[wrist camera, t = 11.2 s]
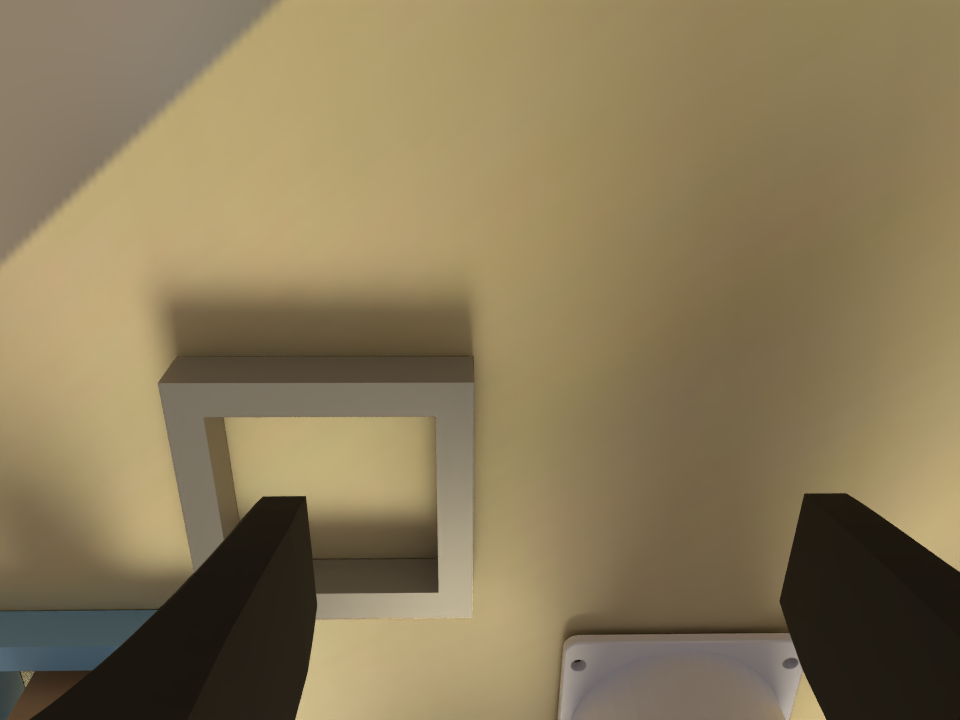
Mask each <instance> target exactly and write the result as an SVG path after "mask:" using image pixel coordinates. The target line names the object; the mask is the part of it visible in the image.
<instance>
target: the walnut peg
mask: <svg viewBox="0 0 960 720" xmlns="http://www.w3.org/2000/svg"><path fill="white" fill-rule="evenodd" d="M91 671H92V670H84V671H35V673H34V674H33V676H32V678H31V679H30V681H29V683H28V684H27V686H26V688H25V690H24V691H23V693H22V695H21V696H20V698H19V700H18V701H17V703H16V705H15V706H14V708H13V710H12V712H11V713H10V715H9V717H8V718H7V720H29V719H31V718H32V717H33V716H35V715H36V714H38V713H39V712H40V711H42V710H43V709H45V708H46V707H47V706H49V705H50V704H51V703H53V702H54V701H55V700H56V699H58V698H59V697H60V696H62V695H63V694H64V693H65V692H67V691H68V690H69V689H70V688H72V687H73V686H74V685H75V684H76V683H78V682H79V681H80V680H81V679H83V678H84V677H85V676H86V675H88V674H89V673H90V672H91Z"/></svg>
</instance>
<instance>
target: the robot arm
mask: <svg viewBox="0 0 960 720" xmlns="http://www.w3.org/2000/svg"><path fill="white" fill-rule="evenodd" d="M780 605H781V608H782V611H783V614H784V617H785V620H786V624H787V627H788V630H789V633H733V634H630V635H576V636H572V637H570V638H568V639H567V640H566V641H565V642H564V645H563V653H562V666H561V679H560V693H559V706H558V719H557V720H790V717H791V713H792V710H793V706H794V702H795V698H796V694H797V690H798V687H799V683H800V679H801V675H802V671H804V674H805V676H806V678H807V680H808V682H809V684H810V686H811V688H812V691H813V693H814V695H815V697H816V699H817V701H818V703H819V705H820V707H821V709H822V711H823V713H824V715H825V717H826V720H960V572H959V571H957V570H956V569H954V568H953V567H952V566H950V565H949V564H947V563H946V562H944V561H943V560H942V559H940V558H939V557H937V556H936V555H935V554H933V553H932V552H930V551H929V550H928V549H926V548H925V547H923V546H922V545H921V544H919V543H918V542H916V541H915V540H914V539H912V538H911V537H909V536H908V535H907V534H905V533H904V532H902V531H901V530H900V529H898V528H897V527H895V526H894V525H893V524H891V523H890V522H888V521H887V520H885V519H884V518H883V517H881V516H880V515H878V514H877V513H875V512H874V511H872V510H871V509H870V508H868V507H867V506H865V505H864V504H862V503H861V502H859V501H857V500H856V499H854V498H853V497H851V496H849V495H848V494H846V493H832V494H804V498H803V502H802V506H801V511H800V515H799V519H798V524H797V528H796V532H795V537H794V541H793V545H792V549H791V554H790V558H789V562H788V567H787V571H786V575H785V580H784V584H783V588H782V593H781V597H780ZM316 612H317V597H316V587H315V578H314V569H313V559H312V550H311V540H310V531H309V521H308V512H307V503H306V496H280V497H262V498H261V499H260V500H259V501H258V502H257V503H256V504H255V505H254V506H253V507H252V508H251V510H250V511H249V512H248V513H247V514H246V515H245V516H244V518H243V519H242V520H241V521H240V522H239V523H238V525H237V526H236V527H235V528H234V529H233V530H232V531H231V533H230V534H229V535H228V536H227V537H226V538H225V539H224V541H223V542H222V543H221V544H220V545H219V546H218V547H217V548H216V549H215V551H214V552H213V553H212V554H211V555H210V556H209V557H208V558H207V559H206V561H205V562H204V563H203V564H202V565H201V566H200V567H199V568H198V569H197V570H196V571H195V572H194V573H193V574H192V575H191V576H190V578H189V579H188V580H187V581H186V582H185V583H184V584H183V585H182V586H181V587H180V588H179V589H178V590H177V591H176V592H175V593H174V594H173V595H172V597H171V598H170V599H169V600H168V601H167V602H166V603H165V604H164V605H163V606H161V607H160V608H159V609H158V610H157V611H156V612H155V613H154V614H153V615H152V616H151V617H150V618H149V619H148V620H147V621H146V622H145V623H144V624H143V625H142V626H141V627H140V628H139V629H138V630H136V631H135V632H134V633H133V634H132V635H131V636H130V637H129V638H128V639H127V640H126V641H125V642H124V643H123V644H122V645H121V646H120V647H118V648H117V649H116V650H115V651H114V652H113V653H112V654H111V655H109V656H108V657H107V658H106V659H105V660H104V661H103V662H102V663H100V664H99V665H98V666H97V667H96V668H95V669H93V670H92V671H91V672H90V673H89V674H88V675H86V676H85V677H84V678H83V679H81V680H80V681H79V682H78V683H76V684H75V685H74V686H73V687H72V688H70V689H69V690H68V691H67V692H65V693H64V694H63V695H62V696H60V697H59V698H58V699H56V700H55V701H54V702H53V703H51V704H50V705H49V706H47V707H46V708H45V709H43V710H42V711H40V712H39V713H38V714H36V715H35V716H33V717H32V718H31V719H29V720H295V718H296V714H297V710H298V706H299V703H300V699H301V695H302V691H303V688H304V684H305V680H306V676H307V672H308V666H309V660H310V654H311V647H312V641H313V633H314V626H315V619H316ZM787 658H790V659H787ZM786 659H787V660H786ZM575 660H582V661H580V662H574V661H575Z"/></svg>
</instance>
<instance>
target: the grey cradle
mask: <svg viewBox="0 0 960 720" xmlns="http://www.w3.org/2000/svg"><path fill="white" fill-rule="evenodd" d="M158 387H159V392H160V397H161V402H162V408H163V413H164V418H165V423H166V429H167V434H168V439H169V444H170V449H171V455H172V460H173V465H174V470H175V475H176V481H177V486H178V491H179V496H180V501H181V507H182V512H183V517H184V522H185V528H186V533H187V538H188V543H189V548H190V554H191V559H192V564H193V569H194V572H195V571H196V570H197V569H198V568H199V567H200V566H201V565H202V564H203V563H204V562H205V561H206V559H207V558H208V557H209V556H210V555H211V554H212V553H213V552H214V551H215V549H216V548H217V547H218V546H219V545H220V544H221V543H222V542H223V541H224V539H225V538H226V537H227V536H228V535H229V534H230V533H231V531H232V530H233V529H234V528H235V527H236V526H237V525H238V523H239V517H238V510H237V504H236V497H235V491H234V484H233V478H232V471H231V465H230V458H229V452H228V445H227V439H226V432H225V426H224V419H223V417H436V467H437V524H438V559H327V560H313V569H314V578H315V587H316V597H317V612H316V619H422V618H473V488H474V360H473V357H176V358H175V360H174V361H173V362H172V364H171V365H170V367H169V368H168V370H167V371H166V372H165V374H164V375H163V377H162V378H161V379H160V381H159V382H158Z"/></svg>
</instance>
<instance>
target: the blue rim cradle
mask: <svg viewBox="0 0 960 720" xmlns="http://www.w3.org/2000/svg"><path fill="white" fill-rule="evenodd" d="M156 611H157V610H95V611H0V720H7V718H8V717H9V715H10V713H11V712H12V710H13V708H14V706H15V705H16V703H17V701H18V700H19V698H20V696H21V695H22V693H23V691H24V690H25V687H24V684H23V681H22V678H21V675H20V672H19V671H84V670H93V669H95V668H96V667H97V666H98V665H99V664H100V663H102V662H103V661H104V660H105V659H106V658H107V657H108V656H109V655H111V654H112V653H113V652H114V651H115V650H116V649H117V648H118V647H120V646H121V645H122V644H123V643H124V642H125V641H126V640H127V639H128V638H129V637H130V636H131V635H132V634H133V633H134V632H135V631H136V630H138V629H139V628H140V627H141V626H142V625H143V624H144V623H145V622H146V621H147V620H148V619H149V618H150V617H151V616H152V615H153V614H154V613H155V612H156Z"/></svg>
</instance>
